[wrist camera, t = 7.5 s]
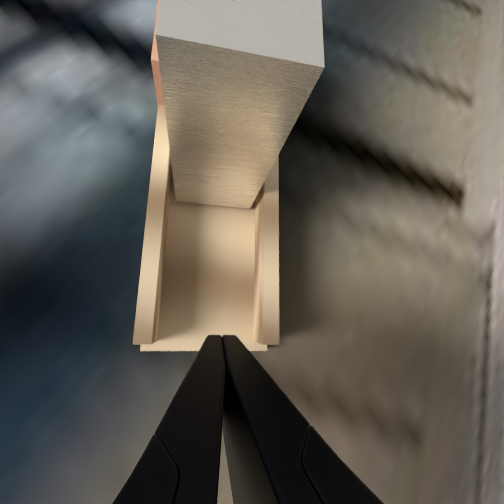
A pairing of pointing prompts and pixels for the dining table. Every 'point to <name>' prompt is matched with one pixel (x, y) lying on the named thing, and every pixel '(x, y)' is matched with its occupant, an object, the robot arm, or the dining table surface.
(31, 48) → the dining table surface
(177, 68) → the brushed grey block
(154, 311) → the guide channel
